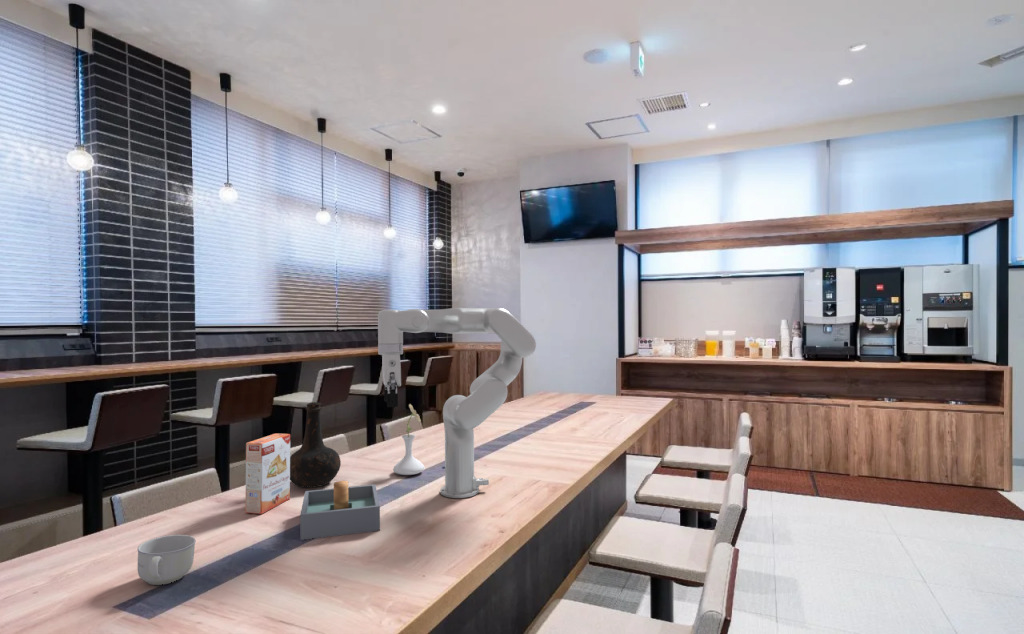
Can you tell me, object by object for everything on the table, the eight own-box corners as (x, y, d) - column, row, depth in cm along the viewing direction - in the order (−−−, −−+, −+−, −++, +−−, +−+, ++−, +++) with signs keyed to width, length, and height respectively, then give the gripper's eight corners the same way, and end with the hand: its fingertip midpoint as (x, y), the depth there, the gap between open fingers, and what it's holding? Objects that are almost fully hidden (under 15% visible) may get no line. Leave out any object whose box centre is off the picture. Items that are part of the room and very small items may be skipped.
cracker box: (262, 515, 157) (262, 443, 157) (244, 513, 158) (244, 442, 158) (291, 499, 171) (291, 433, 171) (274, 498, 172) (274, 432, 172)
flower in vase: (421, 477, 193) (420, 407, 192) (389, 477, 193) (389, 407, 193) (427, 467, 206) (427, 402, 206) (398, 467, 206) (397, 402, 206)
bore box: (375, 505, 164) (375, 484, 164) (380, 530, 145) (379, 506, 145) (305, 513, 158) (305, 491, 158) (300, 540, 139) (300, 515, 139)
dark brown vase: (296, 496, 174) (296, 409, 174) (278, 483, 187) (277, 402, 187) (349, 484, 186) (349, 403, 185) (328, 473, 199) (328, 397, 199)
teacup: (155, 568, 124) (155, 533, 124) (204, 566, 125) (204, 531, 125) (116, 599, 110) (116, 560, 110) (172, 597, 111) (171, 558, 111)
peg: (348, 514, 157) (348, 480, 157) (348, 519, 153) (348, 484, 153) (333, 516, 156) (333, 481, 156) (333, 521, 152) (333, 485, 152)
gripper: (406, 350, 161) (406, 408, 161) (400, 347, 177) (400, 399, 177) (380, 351, 158) (380, 409, 158) (376, 348, 175) (376, 401, 175)
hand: (391, 404), depth 168 cm, fingers open, 9 cm apart
